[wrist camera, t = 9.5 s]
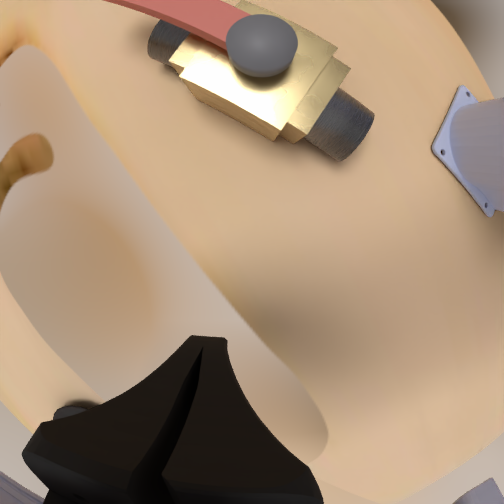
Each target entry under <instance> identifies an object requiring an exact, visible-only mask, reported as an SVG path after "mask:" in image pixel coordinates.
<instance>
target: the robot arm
mask: <svg viewBox="0 0 504 504" xmlns="http://www.w3.org/2000/svg"><path fill="white" fill-rule="evenodd" d="M432 150H433V152H434V154H435V155H436V156H437V157H438V158H439V159H440V160H441V161H442V162H443V163H444V164H445V165H446V166H447V167H448V169H449V170H450V171H451V172H452V173H453V174H454V175H455V176H456V178H457V179H458V180H459V181H460V182H461V183H462V185H463V186H464V187H465V188H466V190H467V191H468V192H469V193H470V194H471V196H472V197H473V198H474V200H475V201H476V202H477V203H478V205H479V206H480V207H481V209H482V210H483V211H484V213H485V214H486V216H488V217H492V216H493V214H494V211H495V210H498V211H502V212H504V98H500V99H493V100H488V101H483V102H478V101H477V100H476V98H475V97H474V96H473V95H472V94H471V92H470V91H469V90H468V89H467V88H466V87H465V86H464V85H461V86H459V87H458V90H457V92H456V95H455V97H454V99H453V102H452V104H451V106H450V109H449V111H448V113H447V115H446V117H445V120H444V122H443V124H442V126H441V128H440V130H439V132H438V134H437V136H436V138H435V140H434V142H433V144H432ZM441 150H442V155H441ZM22 457H23V459H24V461H25V463H26V465H27V466H28V467H29V468H30V470H31V471H32V472H33V473H34V474H35V475H36V476H37V477H38V478H39V479H40V480H41V481H42V482H43V483H44V484H45V485H46V487H48V489H49V491H48V493H47V495H46V498H45V499H44V498H42V497H40V496H38V495H37V494H35V493H33V492H31V491H30V490H28V489H27V488H25V487H23V486H22V485H20V484H19V483H17V482H16V481H14V480H13V479H11V478H10V477H8V476H7V475H5V474H4V473H3V472H1V471H0V504H324V502H323V497H322V495H321V491H320V489H319V486H318V484H317V482H316V480H315V478H314V476H313V474H312V472H311V470H310V468H309V467H308V466H307V465H305V464H304V463H303V462H302V461H300V460H299V459H298V458H297V457H295V456H294V455H293V454H292V453H291V452H290V451H288V449H287V448H286V447H284V446H283V445H282V444H281V443H280V442H279V441H278V440H277V438H276V437H274V435H273V434H272V433H271V432H270V431H269V430H268V428H267V427H266V426H265V425H264V423H263V422H262V421H261V420H260V418H259V417H258V416H257V414H256V413H255V411H254V410H253V408H252V407H251V405H250V404H249V402H248V400H247V399H246V397H245V395H244V394H243V391H242V390H241V388H240V385H239V383H238V381H237V379H236V376H235V374H234V371H233V369H232V366H231V363H230V360H229V355H228V351H227V340H226V339H225V338H222V337H207V336H194V335H192V336H190V337H189V338H188V339H187V340H186V341H185V342H184V343H183V344H182V345H181V346H180V347H179V348H178V349H177V350H176V351H175V352H174V353H173V354H172V355H171V356H170V357H169V358H168V359H167V360H166V361H165V362H164V363H163V364H162V365H161V366H160V367H158V368H157V369H156V370H155V371H153V372H152V373H151V374H150V375H149V376H148V377H146V378H145V379H144V380H142V381H141V382H140V383H138V384H137V385H135V386H134V387H132V388H131V389H129V390H128V391H126V392H124V393H123V394H121V395H119V396H117V397H115V398H113V399H111V400H109V401H107V402H105V403H103V404H101V405H99V406H96V407H94V408H91V409H89V410H86V411H83V412H81V413H78V414H75V415H71V416H68V417H64V418H60V419H56V420H51V421H47V422H42V423H41V424H40V426H39V427H38V428H37V430H36V431H35V433H34V434H33V436H32V438H31V439H30V441H29V442H28V444H27V445H26V447H25V448H24V450H23V452H22ZM453 504H504V497H503V495H502V494H501V492H500V490H499V488H498V486H497V484H496V483H495V481H494V479H493V478H489V479H488V480H486V481H484V482H483V483H481V484H480V485H478V486H476V487H474V488H473V489H471V490H470V491H468V492H466V493H465V494H464V495H462V496H461V497H460V498H458V499H457V500H456V501H455V502H454V503H453Z"/></svg>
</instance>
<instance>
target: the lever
mask: <svg viewBox="0 0 504 504" xmlns="http://www.w3.org/2000/svg"><path fill="white" fill-rule="evenodd" d="M104 1H108V2H111V3H115V4H118V5H121V6H125V7H128V8H131V9H134V10H137V11H140V12H142V13H145V14H148V15H151V16H153V17H156V18H158V19H161V20H164V21H166V22H168V23H171V24H173V25H176V26H178V27H180V28H182V29H185V30H187V31H189V32H191V33H193V34H196V35H198V36H200V37H202V38H204V39H206V40H208V41H210V42H212V43H214V44H216V45H218V46H220V47H222V48H223V49H225V50H227V52H228V56H229V59H230V61H231V63H232V64H233V65H234V67H236V68H237V69H238V70H239V71H241V72H243V73H244V74H247V75H250V76H254V77H270V76H274V75H277V74H279V73H281V72H283V71H284V70H286V69H287V68H288V67H289V66H290V64H291V63H292V61H293V58H294V56H295V53H296V51H297V47H298V39H297V35H296V33H295V31H294V30H293V28H292V27H291V26H290V25H289V24H288V23H287V22H285V21H284V20H282V19H280V18H278V17H275V16H272V15H266V14H255V15H251V14H249V13H247V12H244V11H242V10H240V9H238V8H236V7H234V6H232V5H229V4H227V3H225V2H222V1H220V0H104Z"/></svg>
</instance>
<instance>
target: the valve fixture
mask: <svg viewBox="0 0 504 504" xmlns="http://www.w3.org/2000/svg"><path fill="white" fill-rule="evenodd" d="M235 7H236V8H238V9H240V10H242V11H244V12H247V13H249V14H251V15H255V14H266V15H272V16H275V17H278V18H280V19H282V20H284V21H285V22H287V23H288V24H289V25H290V26H291V27H292V28H293V30H294V31H295V33H296V35H297V39H298V47H297V51H296V53H295V56H294V58H293V61H292V63H291V64H290V66H289V67H288V68H287V69H286V70H284V71H283V72H281V73H279V74H277V75H274V76H270V77H254V76H250V75H247V74H244V73H243V72H241V71H239V70H238V69H237V68H236V67H234V65H233V64H232V63H231V61H230V59H229V56H228V52H227V50H225V49H223V48H222V47H220V46H218V45H216V44H214V43H212V42H210V41H208V40H206V39H204V38H202V37H200V36H198V35H196V34H193V33H191V32H189V31H187V30H185V29H182V28H180V27H178V26H176V25H173V24H171V23H168V22H166V21H164V20H160V21H159V22H158V23H157V25H156V26H155V28H154V29H153V31H152V33H151V36H150V38H149V42H148V54H149V56H150V58H152V59H154V60H157V61H159V62H162V63H164V64H166V65H169V66H171V67H174V69H175V70H176V71H177V72H178V74H179V75H180V76H179V77H180V78H181V79H182V80H183V82H184V83H185V84H186V86H187V87H188V88H189V90H190V91H191V92H192V94H193V95H194V96H195V97H196V99H197V100H199V101H201V102H203V103H205V104H207V105H209V106H211V107H213V108H215V109H217V110H219V111H220V112H222V113H224V114H226V115H228V116H230V117H231V118H233V119H235V120H237V121H239V122H240V123H242V124H244V125H246V126H247V127H249V128H251V129H253V130H254V131H256V132H258V133H259V134H261V135H263V136H264V137H266V138H268V139H269V140H271V141H274V140H275V138H276V137H277V136H278V135H279V136H281V137H283V138H284V139H286V140H287V141H289V142H291V143H292V144H294V143H296V142H297V141H299V140H300V139H302V138H305V139H306V140H308V141H309V142H311V143H312V144H314V145H315V146H317V147H318V148H320V149H321V150H323V151H324V152H326V153H327V154H328V155H330V156H331V157H333V158H334V159H335V160H337V161H338V162H340V161H343V160H344V159H346V158H347V157H348V156H349V155H350V154H351V153H352V152H353V151H354V150H355V149H356V148H357V147H358V145H359V144H360V143H361V141H362V140H363V139H364V137H365V136H366V134H367V133H368V131H369V129H370V127H371V125H372V123H373V120H374V113H373V112H372V111H370V110H369V109H368V108H366V107H365V106H364V105H363V104H361V103H360V102H359V101H357V100H356V99H355V98H353V97H352V96H350V95H349V94H348V93H346V92H345V91H343V90H342V89H340V88H339V86H340V84H341V83H342V81H343V80H344V78H345V77H346V75H347V74H348V72H349V71H350V69H351V68H349V67H348V66H346V65H345V64H343V63H342V62H340V61H339V60H337V59H336V58H334V57H333V54H334V53H335V52H336V50H337V49H338V48H337V47H336V46H334V45H333V44H331V43H329V42H328V41H326V40H324V39H323V38H321V37H319V36H318V35H316V34H314V33H312V32H311V31H309V30H307V29H305V28H303V27H301V26H300V25H298V24H296V23H294V22H292V21H290V20H288V19H286V18H284V17H282V16H280V15H277V14H275V13H273V12H271V11H269V10H267V9H264V8H262V7H260V6H257V5H255V4H252V3H250V2H247V1H245V0H241V1H240V2H239V3H238V4H237V5H236V6H235Z"/></svg>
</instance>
